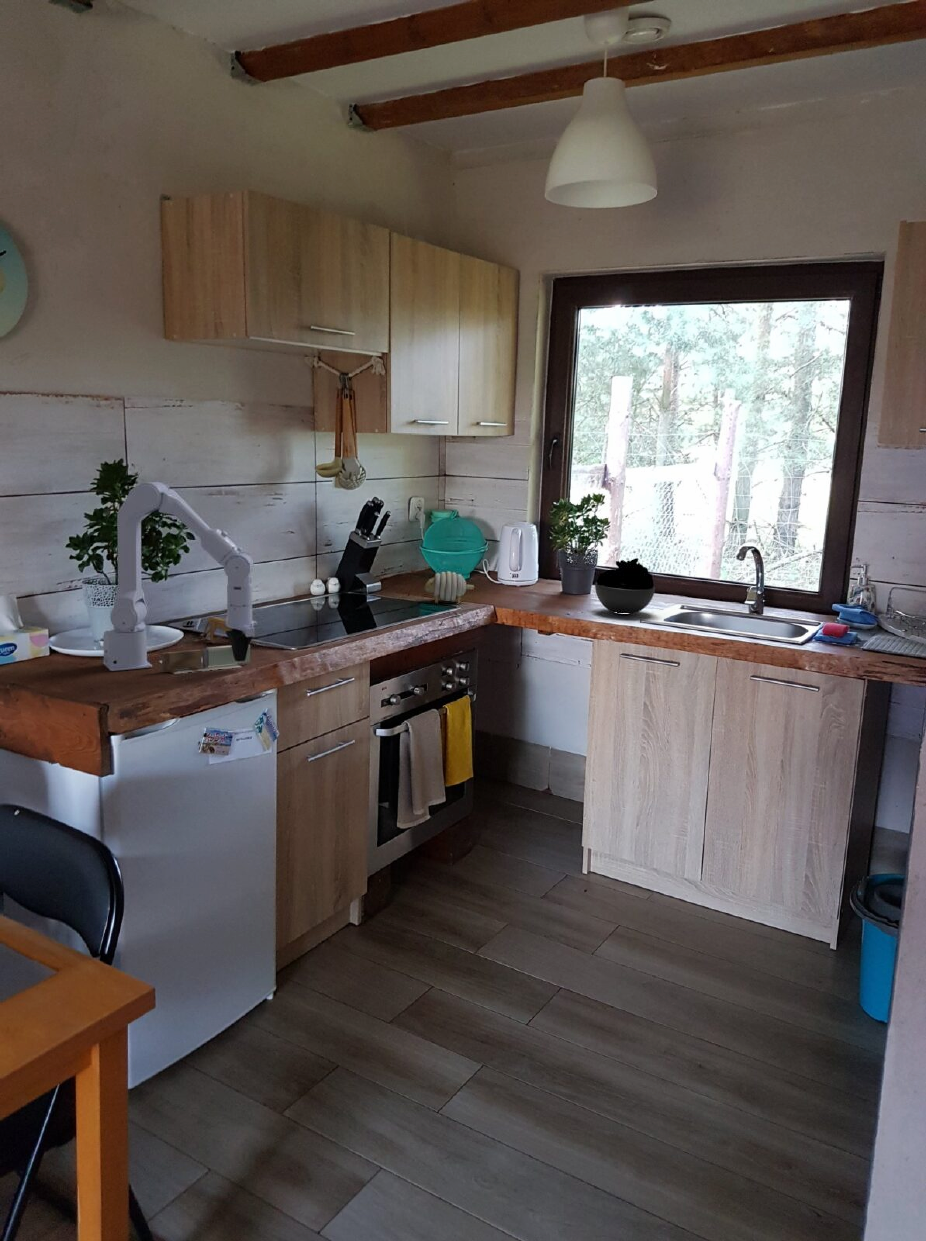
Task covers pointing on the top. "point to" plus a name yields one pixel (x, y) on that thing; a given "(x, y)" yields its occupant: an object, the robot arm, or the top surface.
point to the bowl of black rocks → (625, 587)
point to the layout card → (207, 668)
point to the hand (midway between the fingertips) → (239, 660)
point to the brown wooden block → (181, 660)
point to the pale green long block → (221, 656)
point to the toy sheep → (447, 586)
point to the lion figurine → (215, 627)
